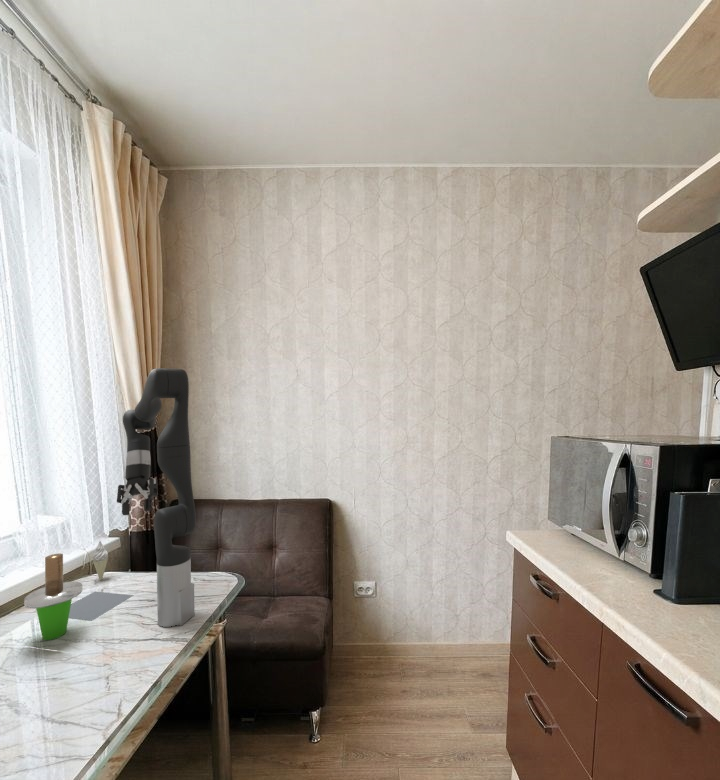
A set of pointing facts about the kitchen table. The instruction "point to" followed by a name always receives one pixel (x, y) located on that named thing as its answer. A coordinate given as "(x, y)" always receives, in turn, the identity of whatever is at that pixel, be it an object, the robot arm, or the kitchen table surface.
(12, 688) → the kitchen table surface
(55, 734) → the kitchen table surface
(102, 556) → the ice cream cone
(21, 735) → the kitchen table surface
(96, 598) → the mat
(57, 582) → the lid
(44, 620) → the cup
